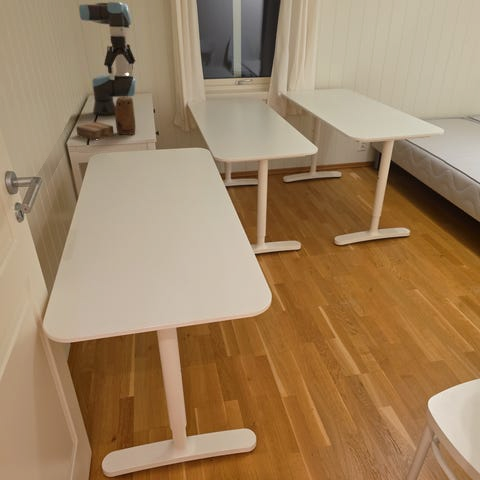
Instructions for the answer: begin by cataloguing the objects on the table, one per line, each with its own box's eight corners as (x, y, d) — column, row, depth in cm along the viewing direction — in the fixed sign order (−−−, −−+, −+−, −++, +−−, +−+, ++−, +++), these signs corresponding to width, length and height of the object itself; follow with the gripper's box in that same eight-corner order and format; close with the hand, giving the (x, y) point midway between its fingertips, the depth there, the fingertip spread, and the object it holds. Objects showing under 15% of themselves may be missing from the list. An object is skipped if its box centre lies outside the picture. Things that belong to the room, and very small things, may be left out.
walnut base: (97, 130, 263) (95, 121, 260) (113, 134, 256) (112, 126, 254) (77, 135, 252) (76, 126, 250) (94, 140, 246) (93, 131, 243)
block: (135, 131, 264) (133, 96, 254) (136, 134, 258) (133, 99, 248) (116, 131, 262) (113, 96, 252) (116, 135, 256) (112, 99, 245)
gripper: (104, 37, 223) (108, 81, 234) (139, 34, 241) (142, 75, 252) (93, 36, 227) (98, 80, 237) (129, 33, 245) (133, 74, 255)
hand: (121, 77), depth 245 cm, fingers open, 13 cm apart
